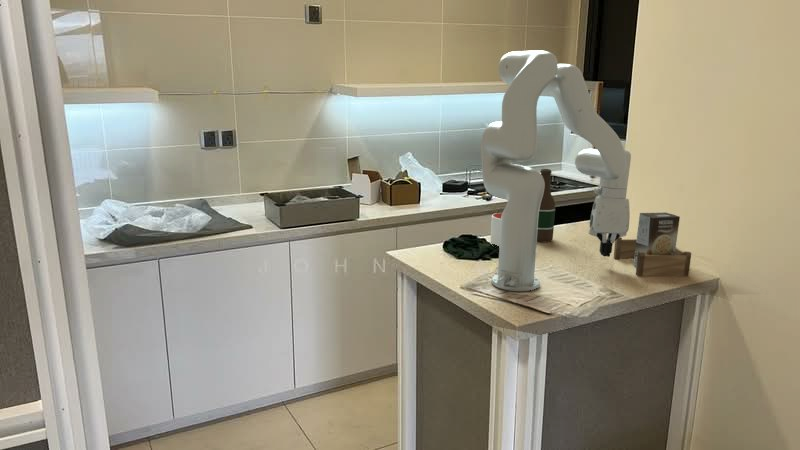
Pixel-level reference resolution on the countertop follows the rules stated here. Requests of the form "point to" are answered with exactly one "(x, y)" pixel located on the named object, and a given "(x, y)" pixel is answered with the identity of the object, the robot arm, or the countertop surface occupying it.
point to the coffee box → (656, 234)
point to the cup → (496, 228)
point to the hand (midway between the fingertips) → (605, 255)
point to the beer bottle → (546, 210)
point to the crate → (653, 260)
